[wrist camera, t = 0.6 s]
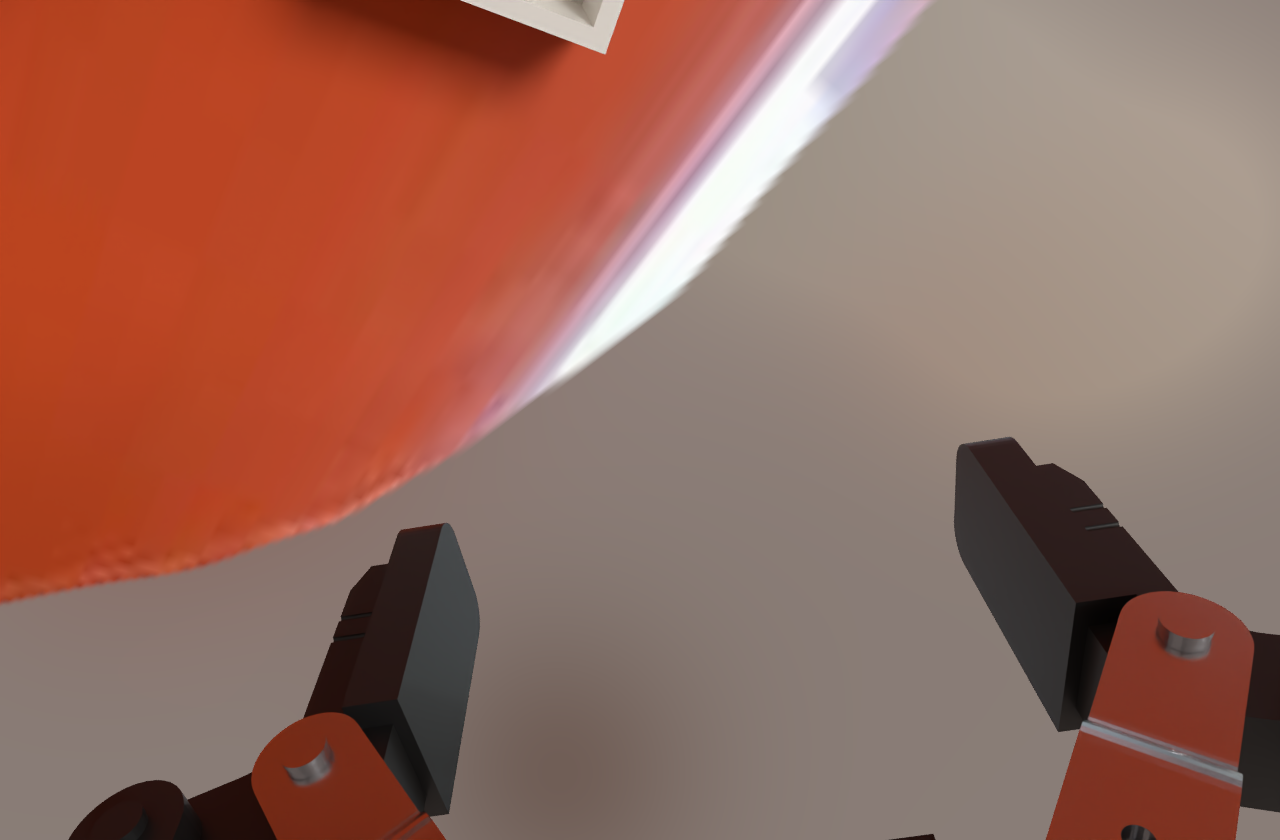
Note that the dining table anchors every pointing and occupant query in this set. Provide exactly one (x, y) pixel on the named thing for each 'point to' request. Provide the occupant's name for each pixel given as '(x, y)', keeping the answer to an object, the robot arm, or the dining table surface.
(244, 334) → the dining table surface
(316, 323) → the dining table surface
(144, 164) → the dining table surface
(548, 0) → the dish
